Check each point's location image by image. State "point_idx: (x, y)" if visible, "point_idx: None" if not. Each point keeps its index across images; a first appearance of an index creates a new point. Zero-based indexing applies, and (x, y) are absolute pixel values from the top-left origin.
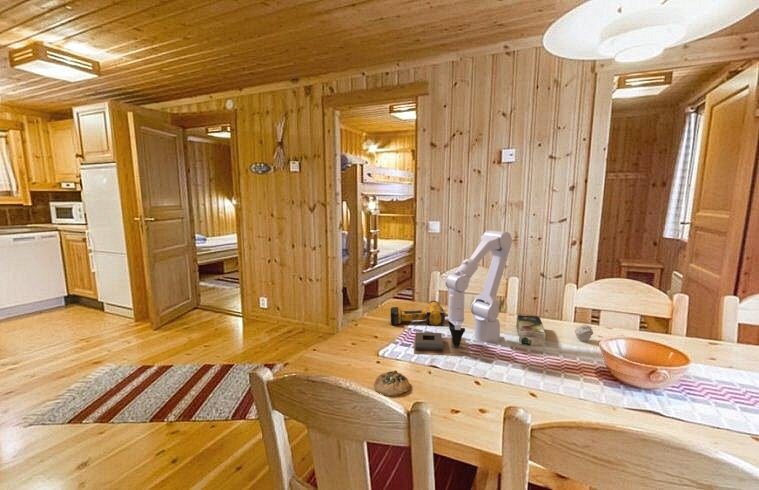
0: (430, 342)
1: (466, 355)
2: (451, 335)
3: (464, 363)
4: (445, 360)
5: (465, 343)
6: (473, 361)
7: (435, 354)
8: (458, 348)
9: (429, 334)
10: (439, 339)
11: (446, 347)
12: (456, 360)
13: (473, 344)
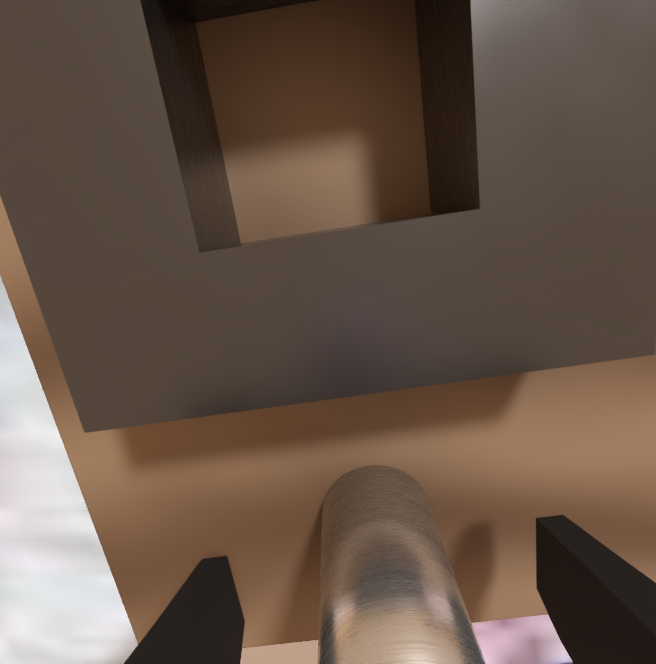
0: (32, 162)
1: (146, 626)
2: (390, 616)
3: (34, 581)
4: (12, 403)
5: (486, 612)
6: (115, 649)
7: (13, 281)
8: (314, 548)
9: (549, 63)
10: (274, 351)
11: (308, 409)
12: (68, 511)
13: (529, 649)
